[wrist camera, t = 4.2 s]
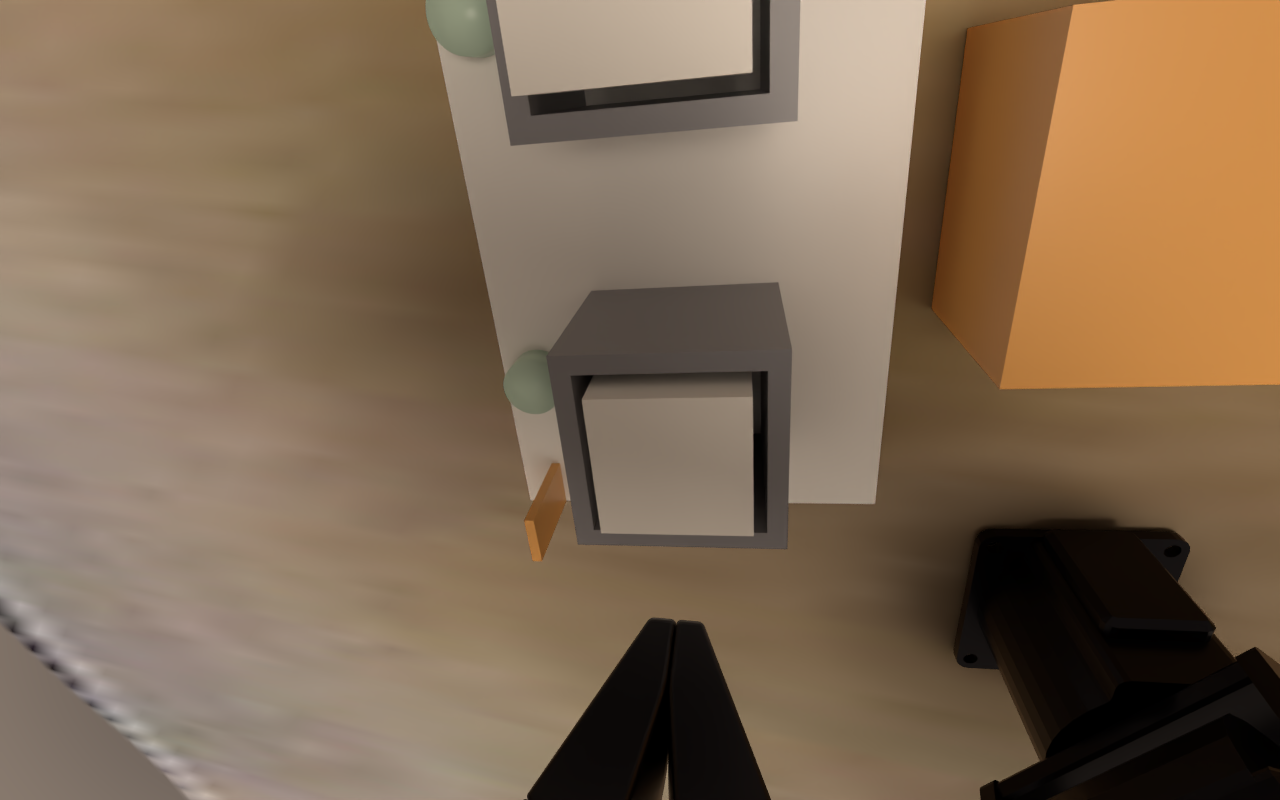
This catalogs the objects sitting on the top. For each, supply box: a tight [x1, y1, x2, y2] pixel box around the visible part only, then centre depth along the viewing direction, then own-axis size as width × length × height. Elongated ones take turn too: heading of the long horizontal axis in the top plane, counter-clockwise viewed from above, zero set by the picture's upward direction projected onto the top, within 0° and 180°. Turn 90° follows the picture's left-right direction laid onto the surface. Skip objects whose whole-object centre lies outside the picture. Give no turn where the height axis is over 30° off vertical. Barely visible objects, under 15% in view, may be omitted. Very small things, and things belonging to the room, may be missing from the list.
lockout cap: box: [931, 0, 1280, 389], centre depth 14 cm, size 7×7×6 cm
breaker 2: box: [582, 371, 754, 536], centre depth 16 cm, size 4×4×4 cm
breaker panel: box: [426, 0, 926, 561], centre depth 15 cm, size 20×12×6 cm, turn 5°
